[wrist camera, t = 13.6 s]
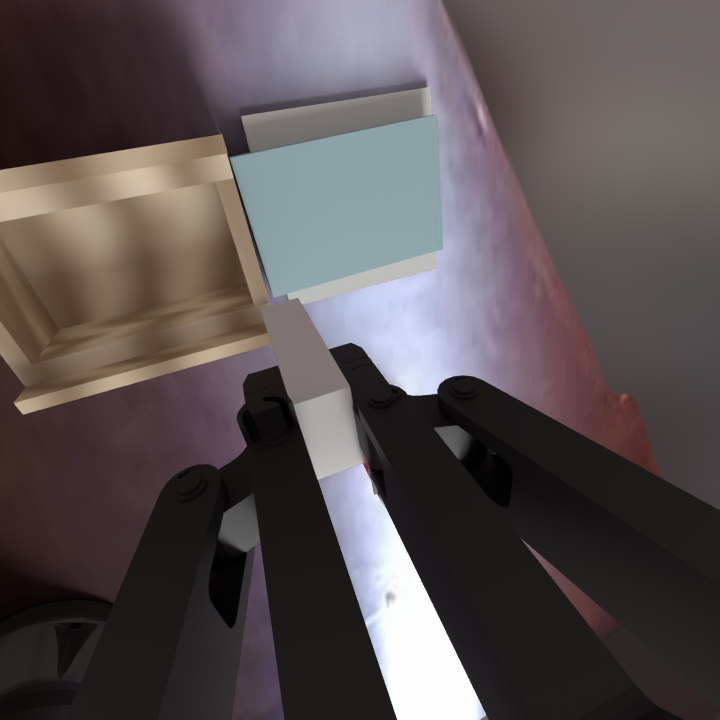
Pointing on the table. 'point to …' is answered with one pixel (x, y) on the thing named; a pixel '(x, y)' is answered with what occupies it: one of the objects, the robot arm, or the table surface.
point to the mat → (331, 121)
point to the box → (124, 269)
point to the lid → (343, 202)
